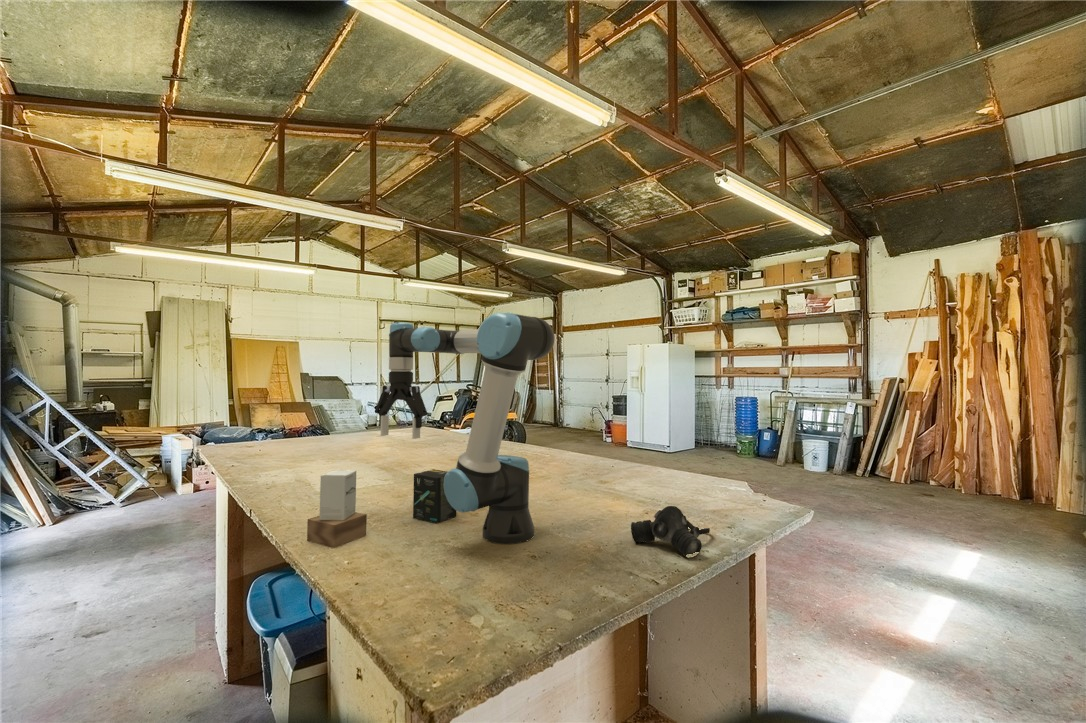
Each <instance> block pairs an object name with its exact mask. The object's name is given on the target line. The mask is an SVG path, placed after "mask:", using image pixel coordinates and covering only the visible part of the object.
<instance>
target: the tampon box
mask: <svg viewBox="0 0 1086 723" xmlns="http://www.w3.org/2000/svg"><path fill="white" fill-rule="evenodd" d="M447 472H448V471H447V470H440V469H430V470H429V469H428V470H425V471H422V472H418V473H417V472H416V473H414V474H413V495H412V496H413V497H412V498H413V499H412V500H413V502H412V506H413V507H412V508H413V509H412V519H415V520H420V521H424V522H428V523H432V524H439V523H441V522H445V521H448V520H450V519H453V518H456V517H457V516H458V514H457V511H456V510H455V509H454V508H453V507H452V506H451V505H450V504H449V502H448V500H447V498H446V495H445V492H444V477H445V475H446V473H447Z"/></svg>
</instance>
